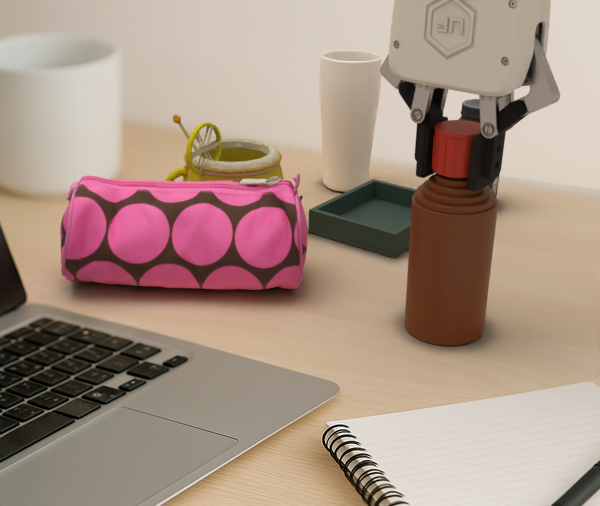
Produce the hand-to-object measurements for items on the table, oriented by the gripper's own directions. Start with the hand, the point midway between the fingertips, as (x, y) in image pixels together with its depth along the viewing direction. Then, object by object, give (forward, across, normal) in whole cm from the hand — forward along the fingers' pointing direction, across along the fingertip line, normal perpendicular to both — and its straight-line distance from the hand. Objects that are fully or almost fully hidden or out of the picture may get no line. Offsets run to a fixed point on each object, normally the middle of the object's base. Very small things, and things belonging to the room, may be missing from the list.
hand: (455, 177), depth 61 cm
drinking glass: (+13, -26, +22) cm, 37 cm away
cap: (-1, 0, 0) cm, 1 cm away
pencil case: (+13, -22, -8) cm, 27 cm away
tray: (+13, -16, +15) cm, 25 cm away
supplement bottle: (+13, -12, +27) cm, 33 cm away
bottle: (+13, 0, 0) cm, 13 cm away
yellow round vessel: (+13, -28, +4) cm, 32 cm away
